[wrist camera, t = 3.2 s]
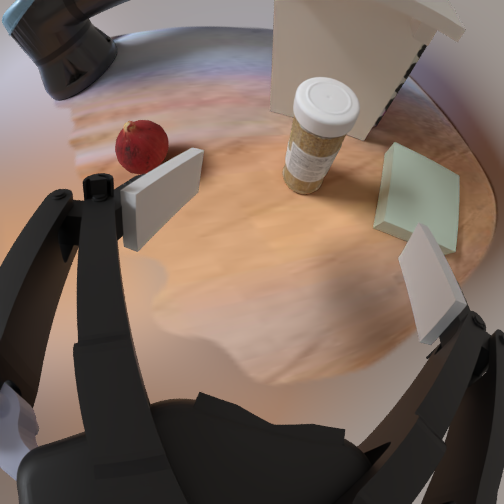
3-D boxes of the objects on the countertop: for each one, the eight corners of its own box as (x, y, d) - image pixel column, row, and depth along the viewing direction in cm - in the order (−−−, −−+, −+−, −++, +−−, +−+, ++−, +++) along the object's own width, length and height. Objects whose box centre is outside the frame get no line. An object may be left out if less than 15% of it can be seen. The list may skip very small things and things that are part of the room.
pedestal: (372, 227, 28) (384, 220, 25) (384, 153, 29) (394, 141, 26) (440, 255, 27) (455, 252, 24) (446, 184, 28) (459, 175, 25)
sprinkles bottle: (297, 151, 29) (318, 66, 16) (330, 175, 29) (372, 99, 15) (273, 179, 29) (282, 97, 15) (307, 204, 28) (342, 135, 15)
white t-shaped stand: (255, 146, 29) (248, -41, 7) (272, 104, 30) (280, -60, 8) (356, 179, 28) (465, 29, 7) (364, 133, 29) (443, -8, 7)
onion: (166, 187, 29) (139, 154, 21) (125, 181, 29) (91, 150, 21) (182, 143, 30) (163, 102, 22) (141, 139, 30) (115, 102, 22)
